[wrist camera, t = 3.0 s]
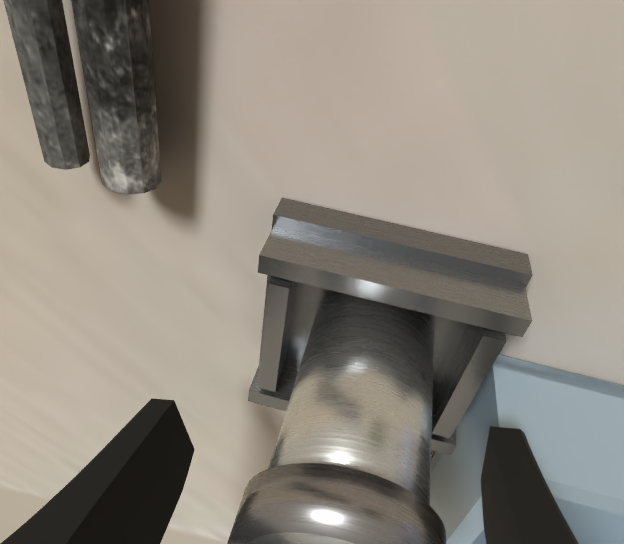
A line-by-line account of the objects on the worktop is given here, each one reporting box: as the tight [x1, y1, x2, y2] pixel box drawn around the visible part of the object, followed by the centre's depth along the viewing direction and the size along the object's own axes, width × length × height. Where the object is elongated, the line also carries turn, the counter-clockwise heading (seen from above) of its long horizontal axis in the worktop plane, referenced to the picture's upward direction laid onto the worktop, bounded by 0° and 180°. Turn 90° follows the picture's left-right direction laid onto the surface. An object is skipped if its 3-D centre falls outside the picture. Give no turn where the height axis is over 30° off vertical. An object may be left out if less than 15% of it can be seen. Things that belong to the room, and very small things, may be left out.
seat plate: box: [248, 198, 532, 455], centre depth 13 cm, size 6×6×2 cm
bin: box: [430, 355, 624, 544], centre depth 15 cm, size 9×9×4 cm
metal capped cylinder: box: [227, 292, 446, 544], centre depth 11 cm, size 4×4×6 cm
